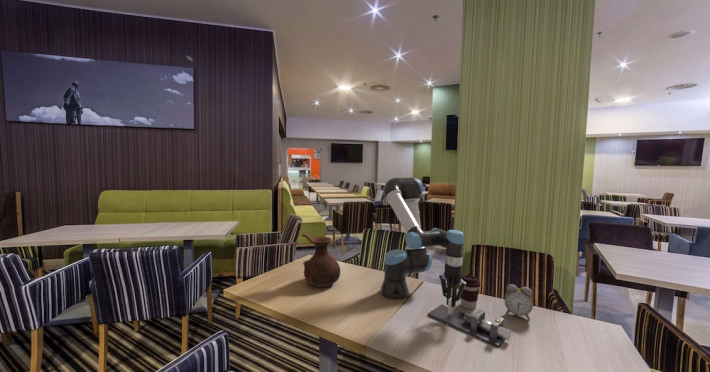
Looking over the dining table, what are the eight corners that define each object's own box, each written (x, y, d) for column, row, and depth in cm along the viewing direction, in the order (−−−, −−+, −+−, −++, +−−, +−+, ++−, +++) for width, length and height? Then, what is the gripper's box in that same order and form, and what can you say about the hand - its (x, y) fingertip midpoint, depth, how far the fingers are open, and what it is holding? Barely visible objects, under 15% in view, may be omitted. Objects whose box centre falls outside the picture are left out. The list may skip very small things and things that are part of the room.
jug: (320, 273, 186) (321, 227, 184) (347, 281, 174) (348, 232, 171) (295, 284, 169) (295, 233, 166) (322, 295, 156) (323, 240, 153)
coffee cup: (480, 312, 141) (482, 282, 140) (459, 309, 143) (461, 280, 142) (476, 302, 151) (478, 274, 150) (456, 300, 153) (458, 272, 152)
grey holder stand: (427, 315, 137) (428, 299, 137) (441, 306, 146) (442, 291, 146) (498, 347, 114) (499, 329, 114) (509, 334, 123) (511, 317, 123)
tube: (462, 322, 130) (463, 314, 129) (466, 319, 132) (467, 311, 132) (507, 342, 116) (507, 332, 116) (510, 337, 119) (511, 328, 119)
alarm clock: (503, 315, 139) (505, 285, 138) (503, 309, 145) (505, 280, 144) (531, 322, 133) (534, 290, 132) (530, 315, 139) (533, 285, 138)
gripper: (436, 262, 136) (433, 309, 138) (463, 270, 127) (460, 321, 129) (444, 258, 141) (441, 304, 143) (470, 266, 132) (467, 315, 134)
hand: (450, 312), depth 136 cm, fingers closed
